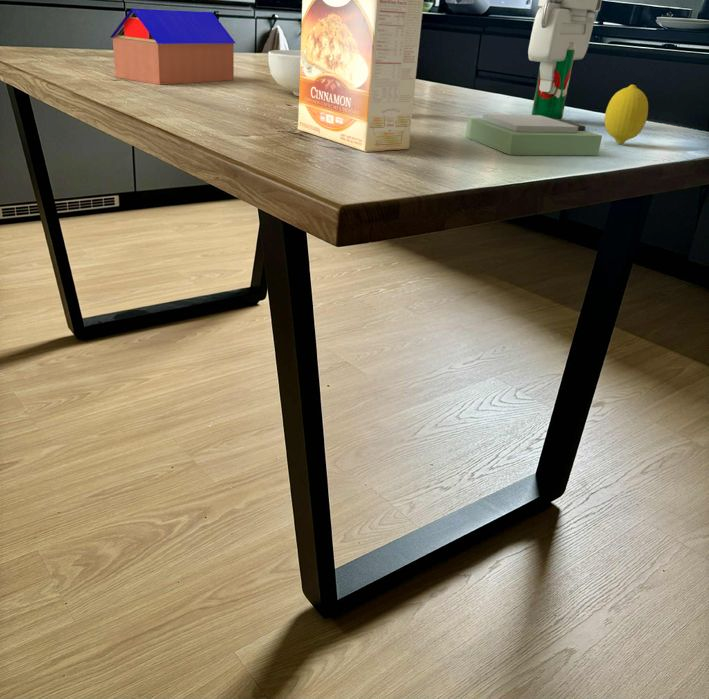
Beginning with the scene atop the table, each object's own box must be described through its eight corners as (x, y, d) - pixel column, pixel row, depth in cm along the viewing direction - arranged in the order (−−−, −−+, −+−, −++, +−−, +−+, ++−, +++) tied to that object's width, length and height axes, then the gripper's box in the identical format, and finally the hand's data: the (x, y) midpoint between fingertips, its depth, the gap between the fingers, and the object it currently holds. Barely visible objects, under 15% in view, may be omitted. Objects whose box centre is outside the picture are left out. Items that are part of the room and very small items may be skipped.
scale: (547, 138, 102) (551, 113, 100) (598, 155, 92) (603, 129, 90) (465, 136, 98) (468, 111, 96) (509, 155, 88) (513, 127, 86)
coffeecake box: (295, 130, 93) (301, -40, 85) (340, 128, 97) (350, -35, 88) (363, 152, 82) (378, -40, 74) (410, 149, 86) (429, -33, 78)
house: (112, 77, 131) (107, 6, 125) (191, 73, 146) (189, 9, 141) (159, 85, 125) (156, 11, 120) (236, 79, 140) (235, 14, 135)
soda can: (550, 117, 122) (563, 41, 117) (567, 122, 118) (582, 43, 113) (525, 116, 121) (537, 39, 115) (542, 121, 116) (556, 42, 111)
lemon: (627, 141, 104) (640, 83, 101) (647, 148, 99) (662, 88, 96) (592, 139, 103) (604, 81, 100) (611, 147, 98) (624, 85, 95)
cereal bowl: (334, 89, 137) (336, 50, 134) (381, 102, 124) (385, 59, 121) (252, 89, 129) (252, 46, 125) (294, 103, 116) (295, 56, 113)
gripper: (569, -6, 102) (551, 96, 108) (604, 0, 118) (587, 89, 124) (526, -8, 105) (511, 91, 111) (567, -2, 121) (551, 84, 127)
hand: (551, 90), depth 117 cm, fingers closed on soda can, 5 cm apart
